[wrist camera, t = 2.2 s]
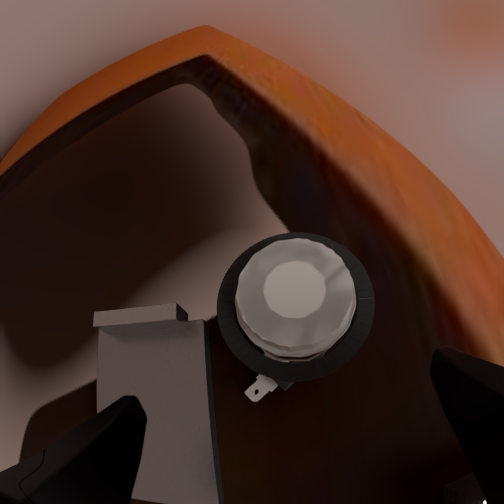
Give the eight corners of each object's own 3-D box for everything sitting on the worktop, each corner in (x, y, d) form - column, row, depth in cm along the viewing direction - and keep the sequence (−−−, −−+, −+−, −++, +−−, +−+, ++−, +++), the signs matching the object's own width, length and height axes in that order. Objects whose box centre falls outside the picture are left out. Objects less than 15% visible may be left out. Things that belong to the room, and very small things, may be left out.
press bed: (224, 502, 13) (209, 517, 10) (113, 489, 14) (86, 495, 11) (208, 317, 20) (192, 300, 17) (108, 327, 20) (83, 313, 17)
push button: (283, 427, 15) (261, 448, 7) (222, 367, 18) (146, 319, 9) (359, 347, 17) (412, 279, 8) (297, 295, 19) (289, 192, 11)
